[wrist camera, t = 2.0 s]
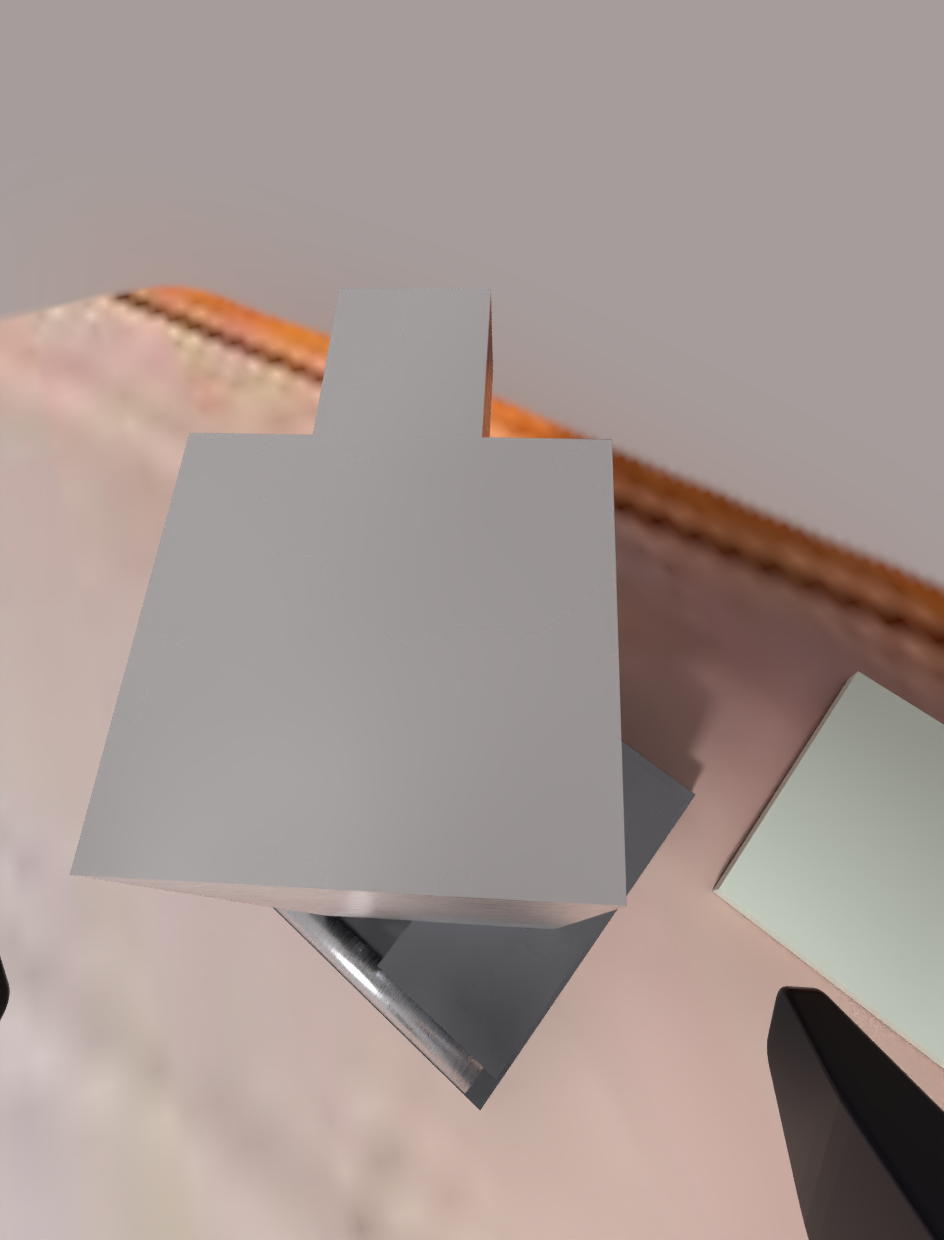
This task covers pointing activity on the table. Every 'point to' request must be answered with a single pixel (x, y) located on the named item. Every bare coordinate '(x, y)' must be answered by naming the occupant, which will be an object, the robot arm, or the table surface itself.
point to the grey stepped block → (378, 654)
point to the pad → (859, 860)
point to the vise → (484, 956)
